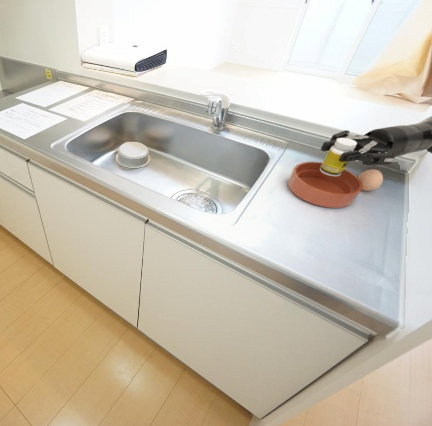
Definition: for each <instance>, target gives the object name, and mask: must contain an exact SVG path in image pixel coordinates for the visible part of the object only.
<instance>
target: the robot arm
mask: <svg viewBox="0 0 432 426" xmlns="http://www.w3.org/2000/svg"><path fill="white" fill-rule="evenodd" d="M338 138H348V139H352V140H354V141H356V142H357V145H356V147H355V149H354V150H353V151H350V152H344V153H343V154H342V155H341V157H340V158H339V161H340V162H348V163H349V162H356V163H357V162H358V163H360V162H362V164H363V165H364V166H388V165H391V164H392V163H393V161H394V160H395V159H396V157H401V156H405V155H408V154H413V153H418V152H423V151H426V152H428V153H429V152H430V153H429V154H432V115H430V116H429V117H427V118H424V119H423V120H421V121H419V122H417V123H413V124H407V125H405V124H404V125H402V124H400V125H393V126H387V127H380V128H375V129H372V130H370V131H368V132H366V133H365V134H363V135H362V134H360V135H359V134H356V135H351V134H350V130H346V129H345V130H342V131H340V132H337V133H333V134H332V136H331V138H330V140H329V141H324V142H323V143H322V145H321V148H320V151H322V152H329V150H330V148H331V147H332V146H334V144H335V142H336V140H337V139H338Z"/></svg>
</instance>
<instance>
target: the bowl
mask: <svg viewBox="0 0 432 426" xmlns="http://www.w3.org/2000/svg"><path fill="white" fill-rule="evenodd" d="M322 163H323V161H322V162H321V161H305V162H303V161H302V162H300V163H298V164H296V165H295V166H294V167H293V169H292V171H291V173H290V176H289V178H288V180H287V186H288V188H289V191H291V192H292V193H293V194H294V195H295V196H297V197H298V198H300V199H302V200H303V201H305V202H308V203H310V204H313V205H316V206H320V207H324V208H334V209H339V208H346V207H348V206H350V205H352V204H353V203H354V202H355V200H356V199H357V197H358V195H359V194H360V193H361V191H363V190H362V188H363V185H362V182H361V180H360V179H359V178H358V176H357V175H356V174H354V173H353V172H351V171H350V170H347V169H346V168H345V169H344V170H343V172H342V174H341V175H340V176H328V175H325V174H323V173H322V172H321V171H320V167H321V165H322Z"/></svg>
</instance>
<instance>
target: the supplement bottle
mask: <svg viewBox="0 0 432 426" xmlns="http://www.w3.org/2000/svg"><path fill="white" fill-rule="evenodd" d="M356 145H357V142H356V141H354V140H352V139H348V138H338V139H337V140H336V142H335V144H334V146H332V147H331V148H330V150H329V151H327V153H326V155H325V157H324V160H323V161H322V165H321V167H320V171H321V172H322V173H323V174H325V175H328V176H340V175H341V174H342V172H343V170H344V169H345V170H346V167H347V166H348V163H349V162H340V161H339V158H340V157H341V155H342V154H343V153H344V152H350V151H353V150H354V149H355V147H356Z"/></svg>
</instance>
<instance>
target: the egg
mask: <svg viewBox="0 0 432 426" xmlns="http://www.w3.org/2000/svg"><path fill="white" fill-rule="evenodd" d="M357 177H358V178H359V179H360V180H361V182H362V185H363V188H362V190H361V191H365V192H371V191H374V190H375V191H376V190H377V189H378V188H380V187H381V185H382V184H383V181H384V176H383V173H382V172H381V171H380V170H378V169H373V168H371V169H367V170H364V171H362V172H361V173H360V174H359V175H358V176H357Z"/></svg>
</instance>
